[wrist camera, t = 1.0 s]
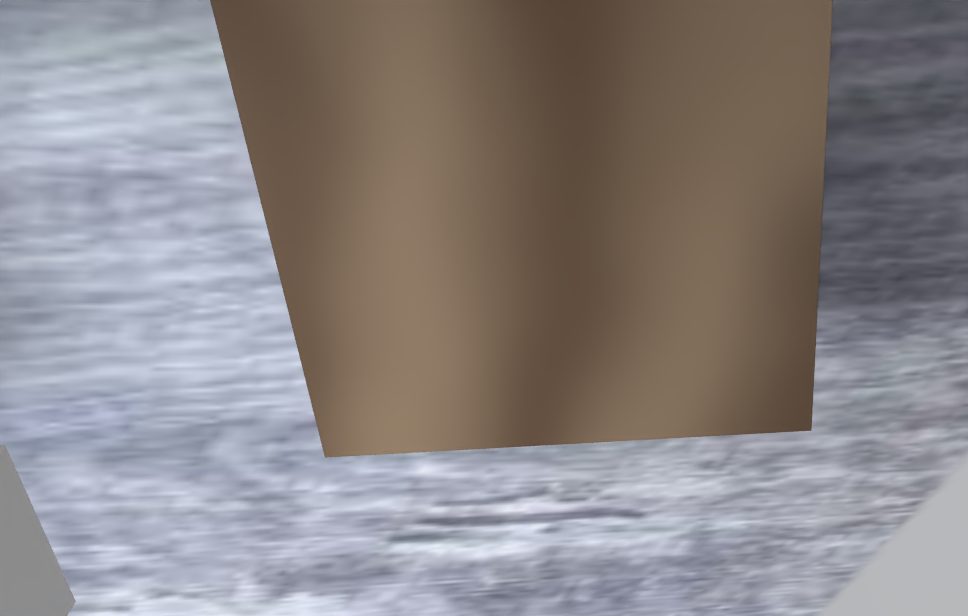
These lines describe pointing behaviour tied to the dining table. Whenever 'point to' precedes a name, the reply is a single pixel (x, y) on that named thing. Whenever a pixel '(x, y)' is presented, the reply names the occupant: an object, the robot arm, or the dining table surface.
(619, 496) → the dining table surface
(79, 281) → the dining table surface
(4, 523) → the robot arm
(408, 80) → the lid
